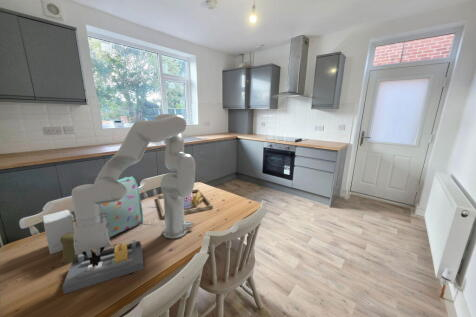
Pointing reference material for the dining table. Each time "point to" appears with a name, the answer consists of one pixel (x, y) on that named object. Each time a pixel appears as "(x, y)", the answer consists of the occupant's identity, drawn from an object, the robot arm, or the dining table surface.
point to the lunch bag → (124, 209)
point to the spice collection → (193, 200)
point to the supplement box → (57, 229)
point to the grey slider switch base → (102, 267)
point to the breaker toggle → (121, 252)
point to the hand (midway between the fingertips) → (95, 263)
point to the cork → (68, 247)
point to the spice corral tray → (188, 209)
